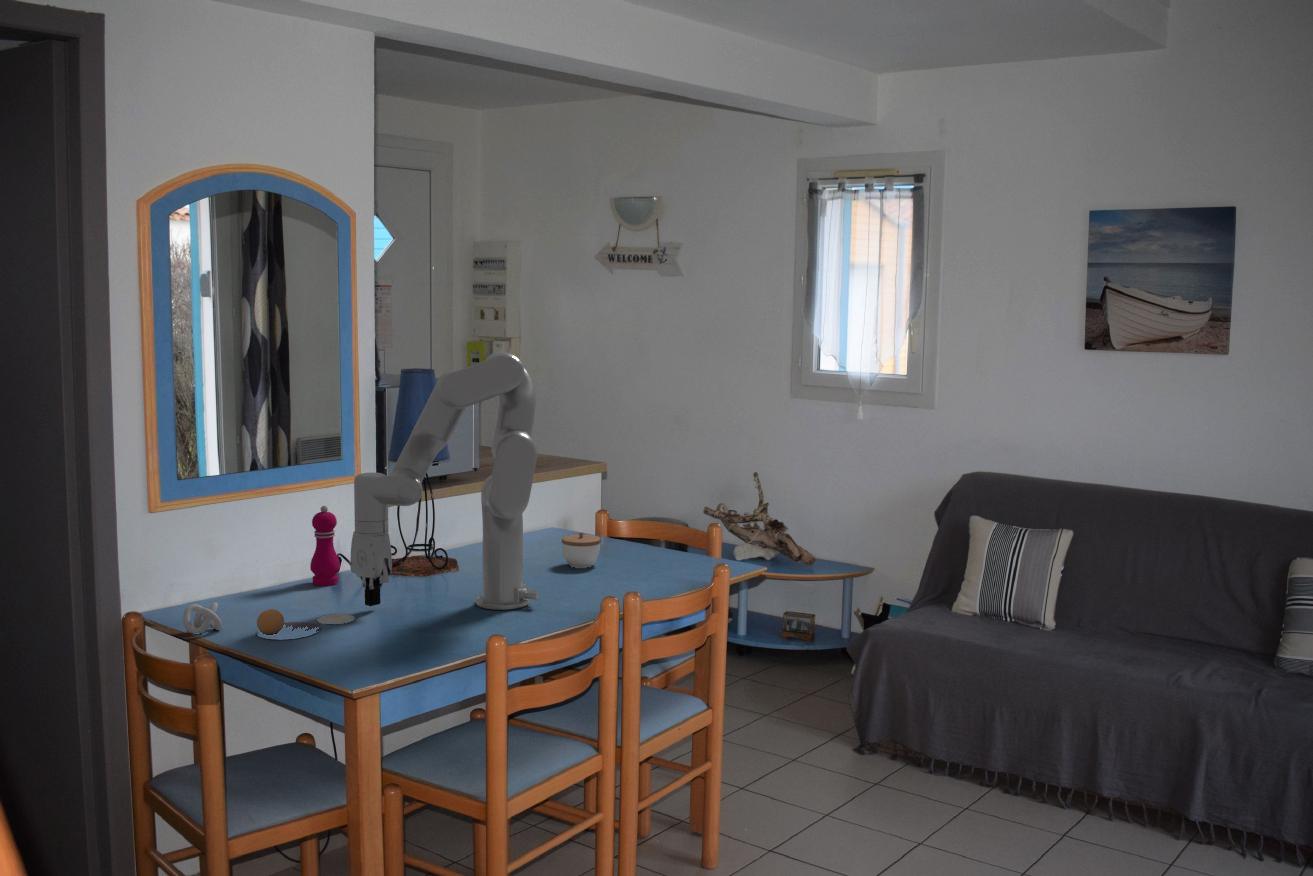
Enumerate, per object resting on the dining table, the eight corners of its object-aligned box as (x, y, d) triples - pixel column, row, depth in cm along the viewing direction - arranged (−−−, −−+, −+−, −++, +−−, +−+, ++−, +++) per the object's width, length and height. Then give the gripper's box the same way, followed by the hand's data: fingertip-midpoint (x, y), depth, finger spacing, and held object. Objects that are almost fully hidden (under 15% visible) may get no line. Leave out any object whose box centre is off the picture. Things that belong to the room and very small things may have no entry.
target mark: (331, 625, 240) (331, 624, 240) (298, 642, 227) (298, 641, 227) (278, 620, 243) (278, 620, 243) (243, 637, 230) (243, 636, 230)
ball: (254, 631, 228) (272, 644, 231) (274, 613, 228) (292, 626, 232) (248, 617, 232) (266, 630, 236) (268, 599, 233) (286, 612, 236)
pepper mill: (346, 581, 279) (344, 504, 276) (328, 587, 272) (327, 509, 270) (322, 578, 281) (320, 502, 279) (304, 585, 274) (303, 507, 272)
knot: (192, 625, 238) (191, 599, 238) (230, 625, 239) (229, 599, 238) (180, 635, 231) (179, 609, 230) (218, 635, 231) (218, 608, 231)
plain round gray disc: (361, 616, 247) (361, 615, 247) (342, 626, 239) (342, 625, 239) (329, 613, 249) (329, 612, 249) (310, 623, 241) (310, 622, 241)
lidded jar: (607, 564, 302) (608, 531, 301) (585, 572, 293) (585, 538, 292) (576, 559, 308) (577, 527, 307) (553, 566, 299) (553, 533, 298)
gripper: (338, 524, 251) (339, 602, 254) (378, 533, 242) (379, 614, 244) (365, 520, 257) (366, 596, 259) (405, 528, 248) (406, 607, 250)
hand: (372, 604), depth 252 cm, fingers closed
